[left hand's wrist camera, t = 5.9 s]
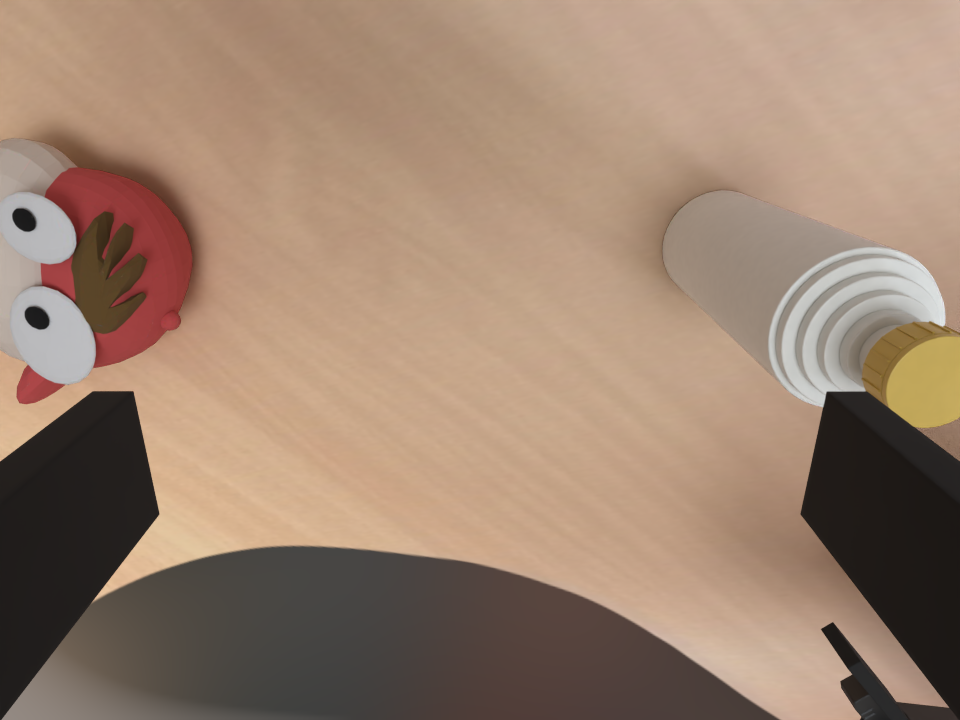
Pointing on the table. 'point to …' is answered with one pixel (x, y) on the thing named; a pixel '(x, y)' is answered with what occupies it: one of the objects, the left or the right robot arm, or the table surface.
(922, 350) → the cap
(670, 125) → the table surface
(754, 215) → the bottle
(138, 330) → the toy
